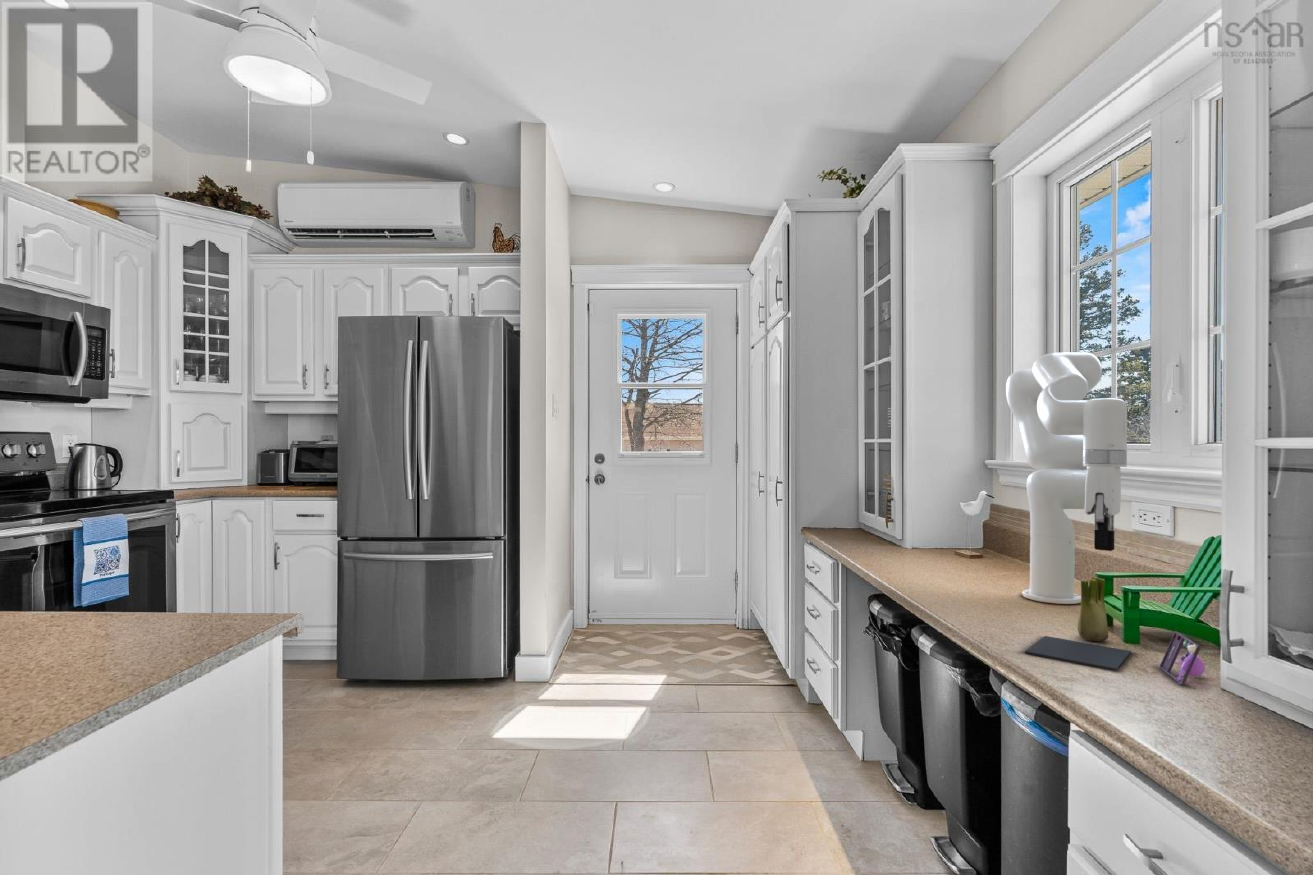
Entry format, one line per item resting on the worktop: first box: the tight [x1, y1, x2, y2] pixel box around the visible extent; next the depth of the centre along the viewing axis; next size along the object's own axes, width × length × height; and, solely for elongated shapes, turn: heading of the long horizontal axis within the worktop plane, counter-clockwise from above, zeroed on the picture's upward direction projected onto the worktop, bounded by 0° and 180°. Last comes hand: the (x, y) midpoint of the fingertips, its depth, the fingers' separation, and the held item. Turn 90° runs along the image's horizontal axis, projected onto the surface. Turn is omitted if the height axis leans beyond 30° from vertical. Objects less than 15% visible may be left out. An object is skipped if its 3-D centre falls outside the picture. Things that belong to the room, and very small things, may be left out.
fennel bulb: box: [1076, 576, 1109, 642], centre depth 136 cm, size 6×5×12 cm
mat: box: [1024, 635, 1132, 672], centre depth 127 cm, size 14×14×1 cm
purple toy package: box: [1159, 630, 1206, 686], centre depth 114 cm, size 7×5×9 cm
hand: (1104, 549), depth 143 cm, fingers closed
